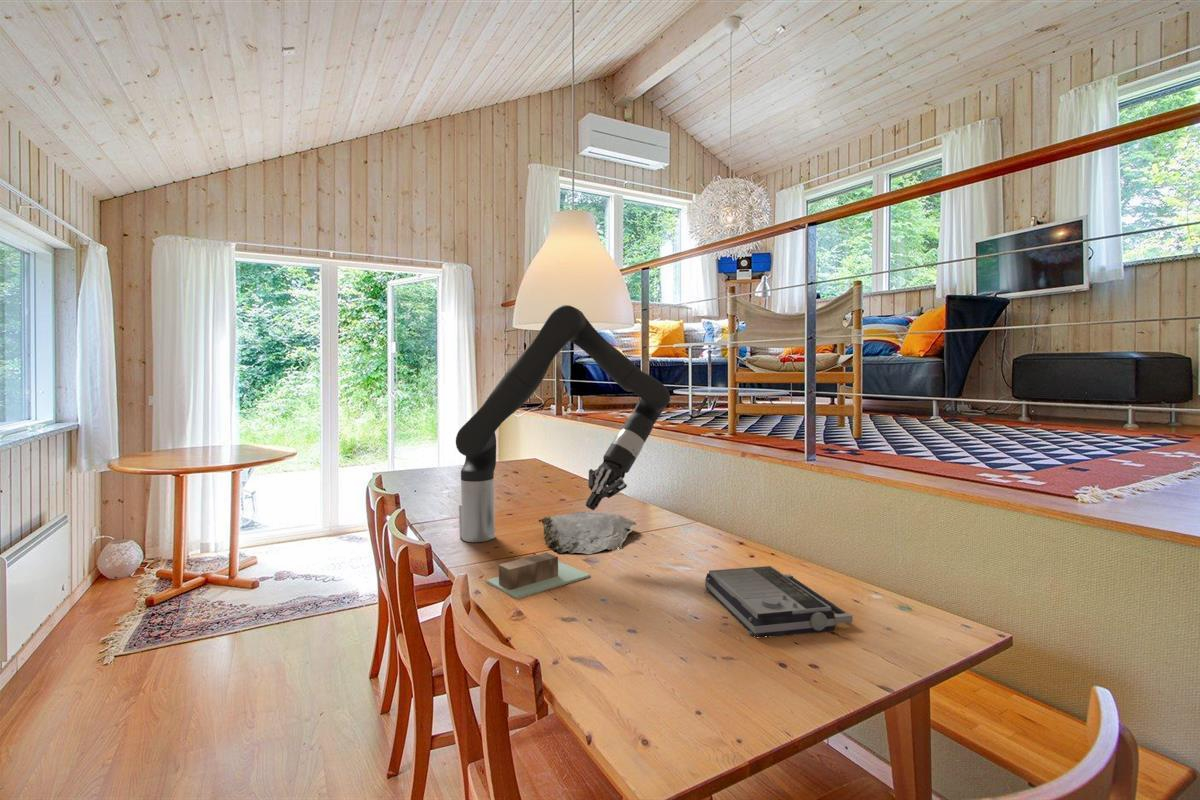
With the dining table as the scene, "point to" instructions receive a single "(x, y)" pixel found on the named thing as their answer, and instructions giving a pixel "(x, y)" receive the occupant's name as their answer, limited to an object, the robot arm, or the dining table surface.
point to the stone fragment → (586, 531)
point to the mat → (543, 582)
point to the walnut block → (528, 570)
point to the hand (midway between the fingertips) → (589, 508)
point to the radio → (772, 602)
